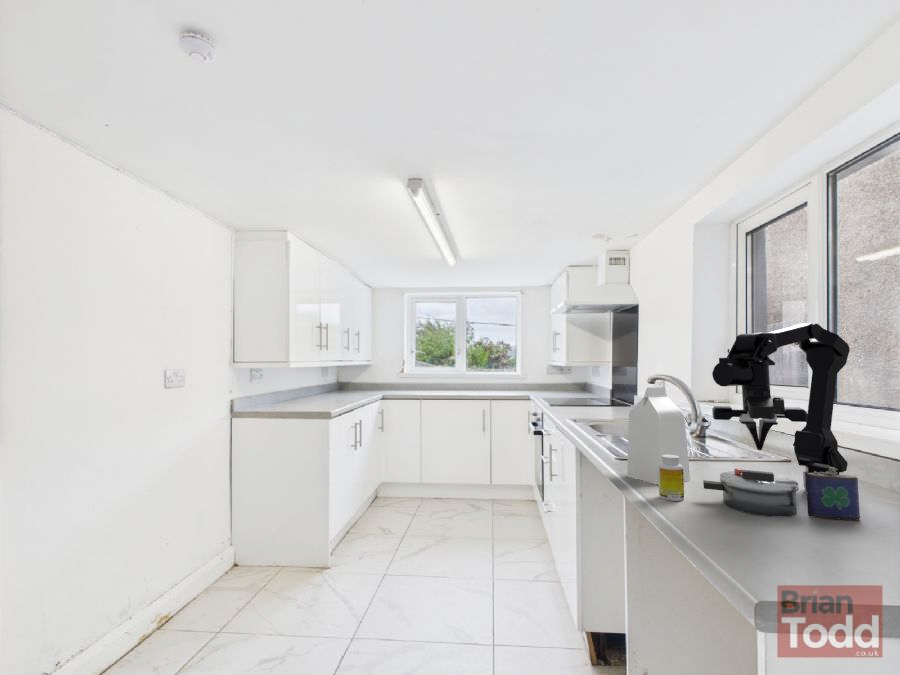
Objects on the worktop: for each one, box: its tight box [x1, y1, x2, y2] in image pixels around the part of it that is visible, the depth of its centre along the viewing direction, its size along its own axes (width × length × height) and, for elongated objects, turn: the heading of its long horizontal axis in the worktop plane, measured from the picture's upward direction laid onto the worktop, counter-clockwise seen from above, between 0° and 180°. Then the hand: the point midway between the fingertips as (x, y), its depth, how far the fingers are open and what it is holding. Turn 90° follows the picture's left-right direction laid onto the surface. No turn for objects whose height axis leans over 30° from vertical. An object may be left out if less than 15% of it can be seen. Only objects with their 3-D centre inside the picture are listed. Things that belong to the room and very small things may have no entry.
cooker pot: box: [702, 480, 798, 517], centre depth 109 cm, size 18×16×5 cm
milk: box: [626, 386, 691, 486], centre depth 134 cm, size 12×12×26 cm
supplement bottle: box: [658, 455, 685, 502], centre depth 114 cm, size 6×6×10 cm
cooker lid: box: [719, 468, 799, 493], centre depth 107 cm, size 15×15×3 cm
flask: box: [806, 467, 861, 521], centre depth 100 cm, size 9×3×11 cm, turn 74°
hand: (759, 449), depth 112 cm, fingers closed
